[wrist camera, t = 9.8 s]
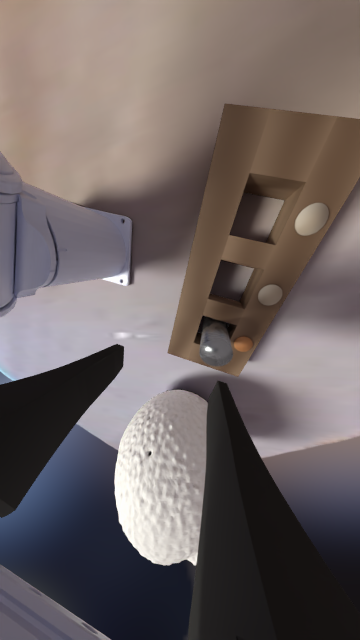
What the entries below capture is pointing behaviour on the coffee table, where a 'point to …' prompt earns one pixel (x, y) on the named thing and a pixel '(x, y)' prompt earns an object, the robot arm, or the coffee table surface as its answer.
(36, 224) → the robot arm
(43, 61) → the coffee table surface
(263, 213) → the coffee table surface
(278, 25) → the coffee table surface
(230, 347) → the pin
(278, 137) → the pin board
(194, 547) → the white textured round lump
